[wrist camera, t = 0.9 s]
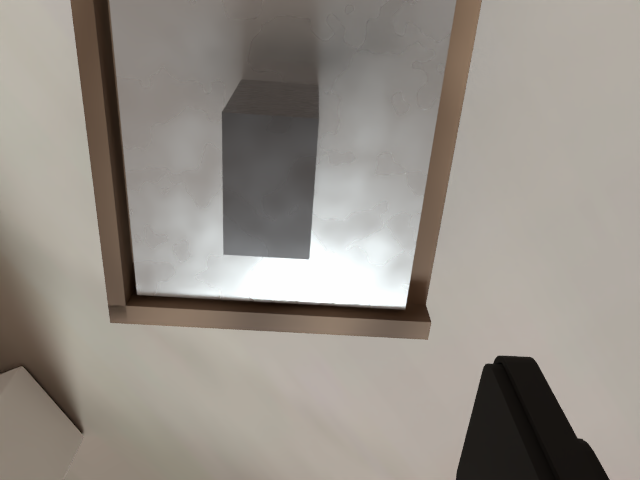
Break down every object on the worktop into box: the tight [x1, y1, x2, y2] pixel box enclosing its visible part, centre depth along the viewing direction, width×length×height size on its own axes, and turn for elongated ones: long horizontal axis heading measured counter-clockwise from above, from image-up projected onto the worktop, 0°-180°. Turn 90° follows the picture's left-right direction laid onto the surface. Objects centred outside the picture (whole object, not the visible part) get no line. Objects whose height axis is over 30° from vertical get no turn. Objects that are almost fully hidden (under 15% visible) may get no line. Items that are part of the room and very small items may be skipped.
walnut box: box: [71, 0, 482, 340], centre depth 26 cm, size 15×18×8 cm
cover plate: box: [109, 0, 456, 310], centre depth 21 cm, size 13×15×6 cm
